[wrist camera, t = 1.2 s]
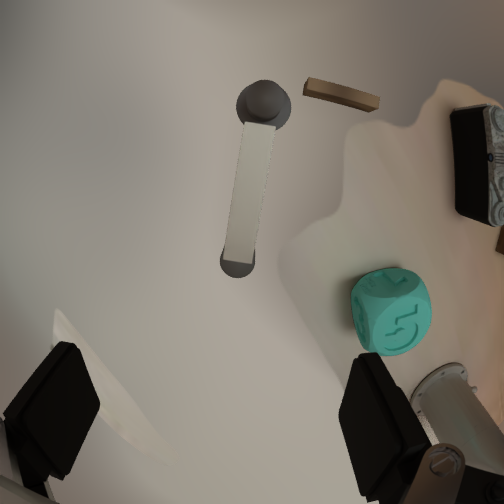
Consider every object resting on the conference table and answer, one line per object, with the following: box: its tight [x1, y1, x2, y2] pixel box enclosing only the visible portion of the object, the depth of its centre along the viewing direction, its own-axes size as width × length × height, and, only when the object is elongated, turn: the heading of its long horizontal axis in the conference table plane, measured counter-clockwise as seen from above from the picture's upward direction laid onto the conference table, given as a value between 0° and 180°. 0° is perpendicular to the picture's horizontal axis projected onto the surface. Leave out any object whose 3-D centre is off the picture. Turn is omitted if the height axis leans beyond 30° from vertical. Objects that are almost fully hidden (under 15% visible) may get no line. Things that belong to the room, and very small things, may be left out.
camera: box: [450, 103, 504, 227], centre depth 26 cm, size 15×7×10 cm, turn 7°
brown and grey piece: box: [236, 77, 380, 130], centre depth 27 cm, size 15×7×5 cm, turn 81°
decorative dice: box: [351, 268, 432, 356], centre depth 33 cm, size 8×8×8 cm
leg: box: [220, 122, 276, 278], centre depth 31 cm, size 16×4×4 cm, turn 170°
